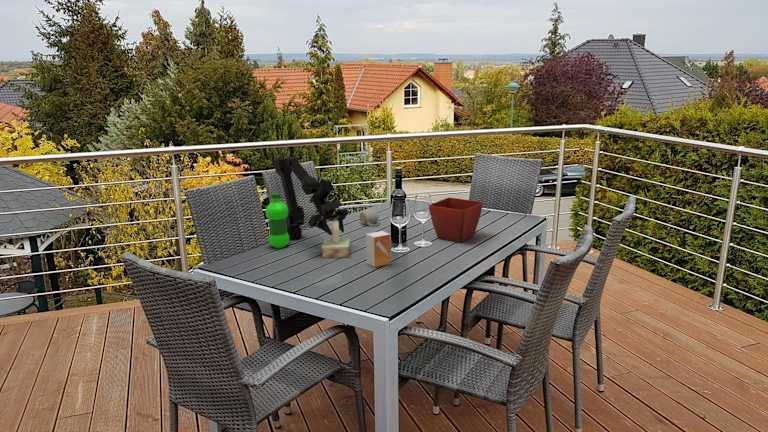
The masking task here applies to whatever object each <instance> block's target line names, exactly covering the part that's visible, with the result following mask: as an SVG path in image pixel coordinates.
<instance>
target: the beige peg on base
mask: <svg viewBox="0 0 768 432" xmlns="http://www.w3.org/2000/svg"><path fill="white" fill-rule="evenodd" d="M331 232H332V235H331V236H332V238H331V239H324V241H323V243H322V245H321V250H322V249H348V247H349V243H350V242H351V239H350V238H347V239H346V238H342V239H341V238H340V229H339V221H337V220H335V219H334V220H331ZM350 244H351V243H350Z"/></svg>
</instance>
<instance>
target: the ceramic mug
mask: <svg viewBox="0 0 768 432" xmlns="http://www.w3.org/2000/svg"><path fill="white" fill-rule="evenodd" d="M379 220H380V217H379V213H378V211H377V209H376V208H371V209H367V210H363V211H361V212H360V213H359V222H360V223H361V224H362V225H364V226H365V225H366V226H369V227H377V226H379Z"/></svg>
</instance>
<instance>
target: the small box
mask: <svg viewBox="0 0 768 432" xmlns="http://www.w3.org/2000/svg"><path fill="white" fill-rule="evenodd" d="M365 236H366V237H365V239H366V240H365V241H366V244H365V245H366V264H367V265H370V266H371V267H373V268H378V267H382V266H386V265H390V264H391V262H392V261H391V233H388V232H386V231H384V230H380V231H375V232H374V231H373V232H370V233H366V234H365Z"/></svg>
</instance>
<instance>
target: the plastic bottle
mask: <svg viewBox="0 0 768 432" xmlns="http://www.w3.org/2000/svg"><path fill="white" fill-rule="evenodd" d="M280 198H281V193H280V192H273V193H270V199H272V200H271V202H270V203H269V204H268V205H267V206H266V207H265V211H264V213H265V217H266V218H267V219H268V223H269V224H268V225H269V235H268V239H267V240H268V241H267V242H268V243H269V244H270V246H272V247H273V248H276V249H282V248H285V247H286V246H287V245H288V244H289V242H290V239H289V234H288V233H287V227H286V217H287V216H288V208H287V204H285V203H284V202H282V201H280Z"/></svg>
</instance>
